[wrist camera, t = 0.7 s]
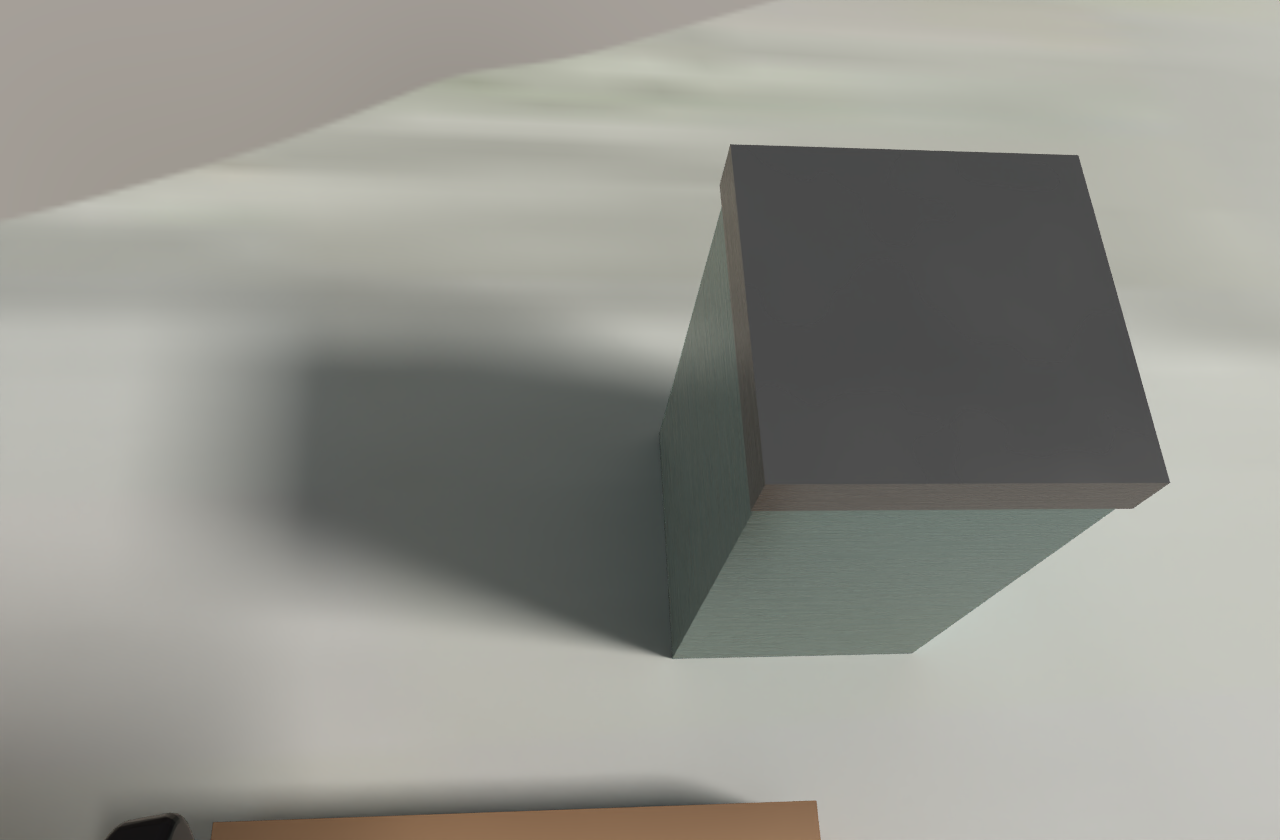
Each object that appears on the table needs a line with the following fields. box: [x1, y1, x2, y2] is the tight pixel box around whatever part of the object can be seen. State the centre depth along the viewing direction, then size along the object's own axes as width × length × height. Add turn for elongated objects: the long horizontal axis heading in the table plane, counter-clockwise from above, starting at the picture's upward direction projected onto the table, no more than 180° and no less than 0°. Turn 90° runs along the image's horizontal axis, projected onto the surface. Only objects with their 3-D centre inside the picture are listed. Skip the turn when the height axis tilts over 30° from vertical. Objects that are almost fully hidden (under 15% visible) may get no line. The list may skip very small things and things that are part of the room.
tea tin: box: [659, 144, 1170, 659], centre depth 20 cm, size 6×6×10 cm
